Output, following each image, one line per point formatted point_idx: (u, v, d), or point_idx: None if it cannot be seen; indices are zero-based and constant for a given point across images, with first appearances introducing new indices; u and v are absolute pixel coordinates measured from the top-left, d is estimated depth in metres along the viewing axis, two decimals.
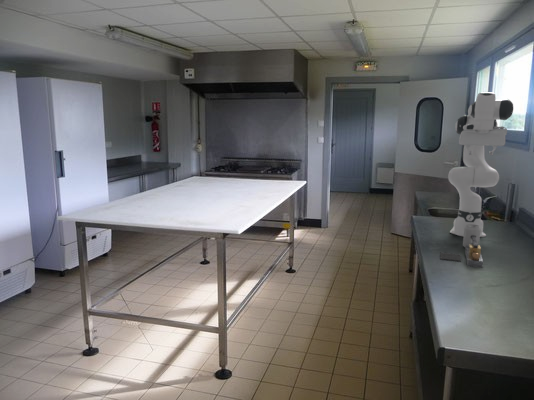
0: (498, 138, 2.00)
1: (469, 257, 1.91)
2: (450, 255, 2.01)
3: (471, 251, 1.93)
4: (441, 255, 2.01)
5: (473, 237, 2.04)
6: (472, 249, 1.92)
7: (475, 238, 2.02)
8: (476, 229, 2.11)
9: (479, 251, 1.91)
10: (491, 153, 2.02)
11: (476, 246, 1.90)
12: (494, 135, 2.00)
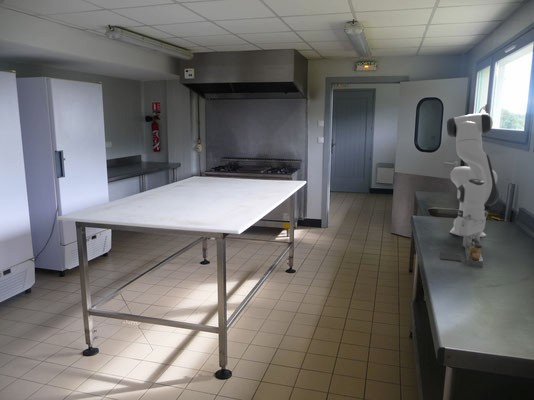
0: None
1: (469, 257, 1.91)
2: (450, 255, 2.01)
3: (471, 251, 1.93)
4: (441, 255, 2.01)
5: None
6: (472, 249, 1.92)
7: (476, 238, 2.02)
8: None
9: (479, 251, 1.91)
10: None
11: (480, 246, 1.90)
12: None
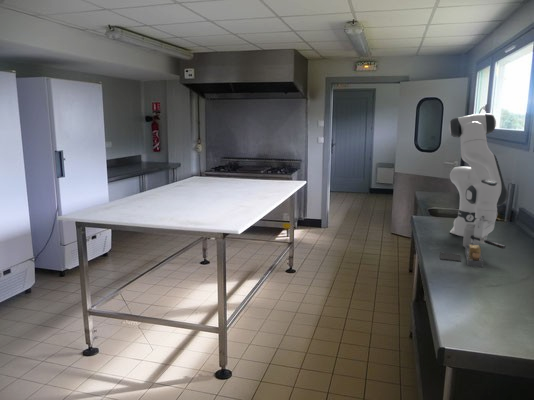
0: None
1: (469, 257, 1.91)
2: (450, 255, 2.01)
3: (471, 251, 1.93)
4: (441, 255, 2.01)
5: None
6: (472, 249, 1.92)
7: None
8: None
9: (479, 251, 1.91)
10: None
11: (504, 246, 1.90)
12: None
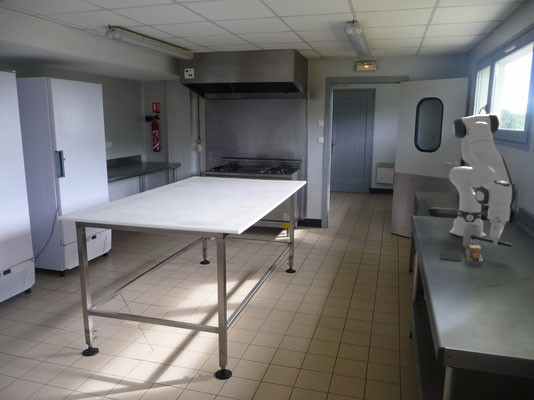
0: None
1: (469, 257, 1.91)
2: (450, 255, 2.01)
3: (471, 251, 1.93)
4: (441, 255, 2.01)
5: (480, 237, 2.04)
6: (472, 249, 1.92)
7: None
8: (476, 229, 2.11)
9: (479, 251, 1.91)
10: (493, 242, 1.96)
11: (512, 245, 1.93)
12: None
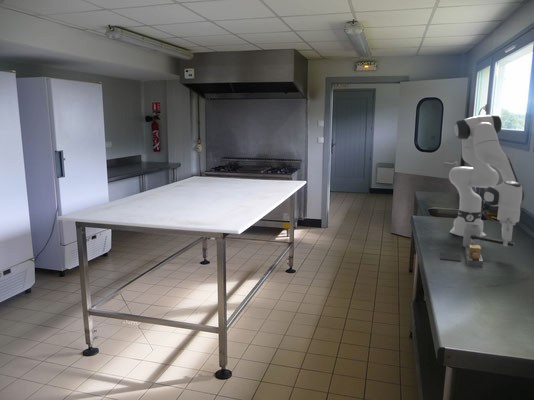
0: None
1: (469, 257, 1.91)
2: (450, 255, 2.01)
3: (471, 251, 1.93)
4: (441, 255, 2.01)
5: (480, 237, 2.04)
6: (472, 249, 1.92)
7: (484, 237, 2.04)
8: (476, 229, 2.11)
9: (479, 251, 1.91)
10: (503, 243, 1.94)
11: None
12: None
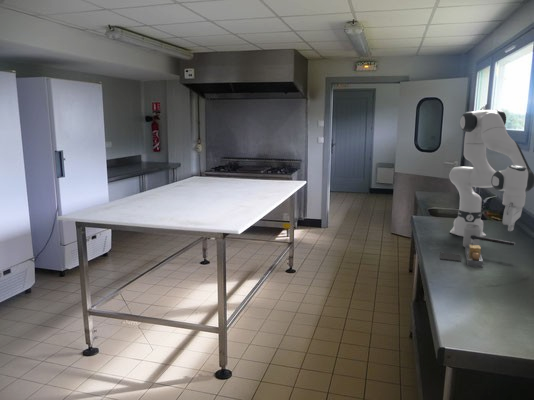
0: None
1: (469, 257, 1.91)
2: (450, 255, 2.01)
3: (471, 251, 1.93)
4: (441, 255, 2.01)
5: (480, 237, 2.04)
6: (472, 249, 1.92)
7: (484, 237, 2.04)
8: (476, 229, 2.11)
9: (479, 251, 1.91)
10: None
11: (514, 243, 1.95)
12: None
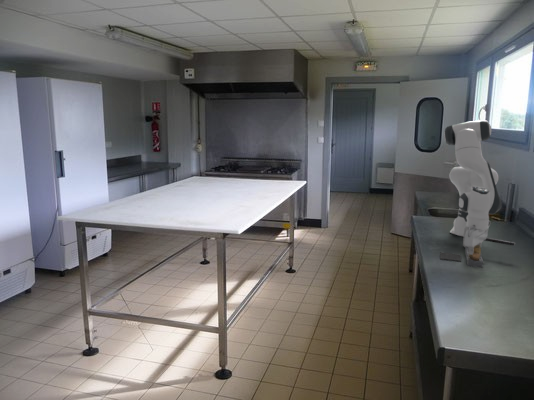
0: None
1: (469, 257, 1.91)
2: (450, 255, 2.01)
3: None
4: (441, 255, 2.01)
5: None
6: None
7: None
8: None
9: (479, 251, 1.91)
10: None
11: (514, 243, 1.95)
12: None
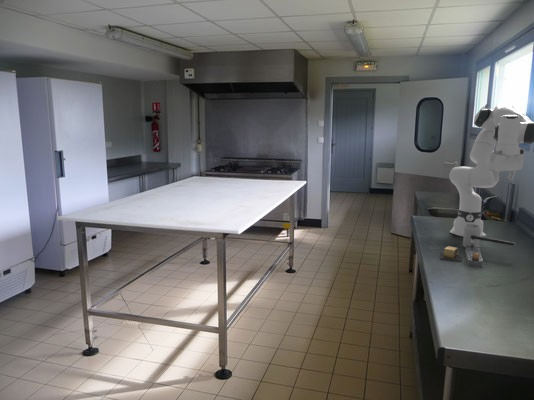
0: None
1: (469, 257, 1.91)
2: None
3: (445, 252, 1.99)
4: (441, 255, 2.01)
5: (480, 237, 2.04)
6: (446, 250, 1.98)
7: (484, 237, 2.04)
8: (476, 229, 2.11)
9: (452, 253, 1.96)
10: None
11: (514, 243, 1.95)
12: None
